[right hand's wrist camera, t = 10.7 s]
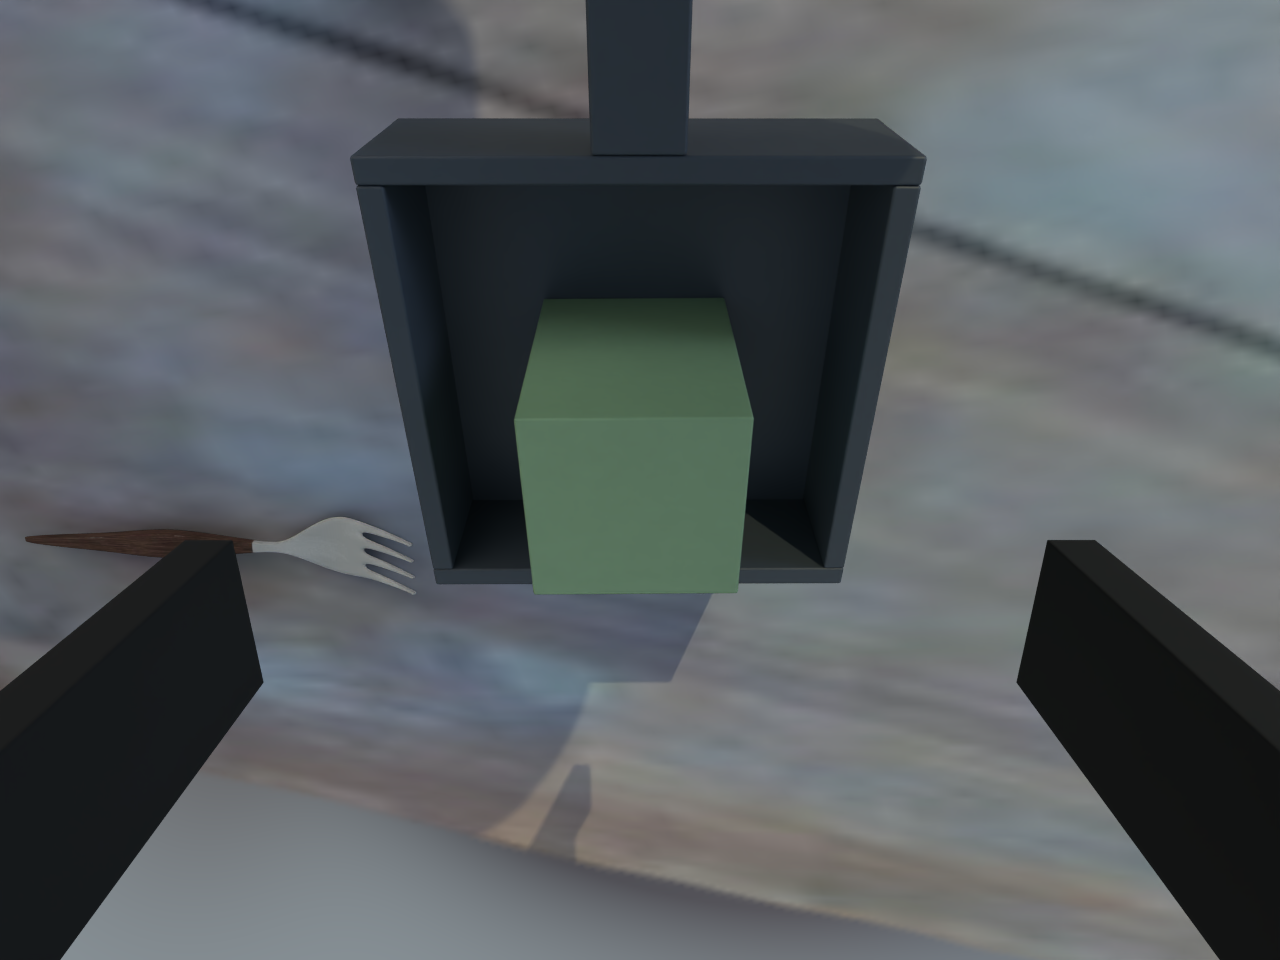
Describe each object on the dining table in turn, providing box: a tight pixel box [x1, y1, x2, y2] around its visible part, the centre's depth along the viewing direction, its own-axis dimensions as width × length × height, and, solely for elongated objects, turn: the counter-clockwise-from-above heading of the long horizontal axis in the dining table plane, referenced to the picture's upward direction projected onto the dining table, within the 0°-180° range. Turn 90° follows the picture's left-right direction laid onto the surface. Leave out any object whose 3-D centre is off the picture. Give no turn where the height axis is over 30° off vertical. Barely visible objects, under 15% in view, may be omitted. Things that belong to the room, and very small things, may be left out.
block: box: [514, 298, 754, 594], centre depth 20 cm, size 5×5×6 cm
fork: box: [25, 517, 416, 595], centre depth 31 cm, size 3×16×2 cm, turn 88°
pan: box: [350, 0, 926, 584], centre depth 17 cm, size 25×12×4 cm, turn 179°
